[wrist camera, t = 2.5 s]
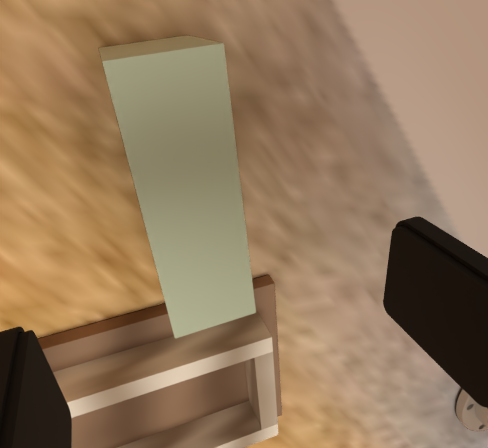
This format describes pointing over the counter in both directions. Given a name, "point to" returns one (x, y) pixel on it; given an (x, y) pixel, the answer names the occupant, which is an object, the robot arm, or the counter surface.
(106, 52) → the bar
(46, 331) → the counter surface
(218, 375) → the brown rectangular tray
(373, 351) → the counter surface
